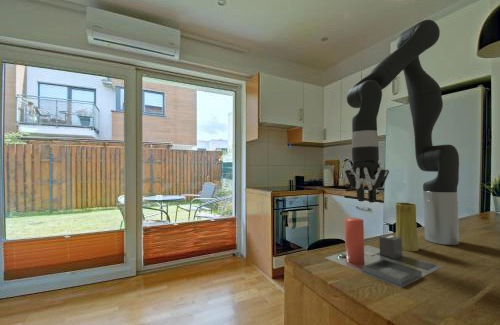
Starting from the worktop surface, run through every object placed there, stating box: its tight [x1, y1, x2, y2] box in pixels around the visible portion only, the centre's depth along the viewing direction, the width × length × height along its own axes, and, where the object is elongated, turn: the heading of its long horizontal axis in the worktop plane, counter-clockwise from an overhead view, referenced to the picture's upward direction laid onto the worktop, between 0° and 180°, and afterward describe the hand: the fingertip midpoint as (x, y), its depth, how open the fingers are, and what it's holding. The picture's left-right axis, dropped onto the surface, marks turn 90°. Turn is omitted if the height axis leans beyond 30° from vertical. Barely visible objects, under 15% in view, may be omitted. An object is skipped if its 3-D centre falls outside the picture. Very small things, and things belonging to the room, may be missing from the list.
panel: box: [324, 244, 443, 289], centre depth 62 cm, size 20×20×2 cm
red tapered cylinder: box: [344, 217, 365, 264], centre depth 63 cm, size 5×5×11 cm
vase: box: [395, 202, 419, 252], centre depth 74 cm, size 6×6×14 cm
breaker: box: [378, 234, 403, 259], centre depth 67 cm, size 4×4×5 cm
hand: (366, 201), depth 73 cm, fingers open, 3 cm apart
